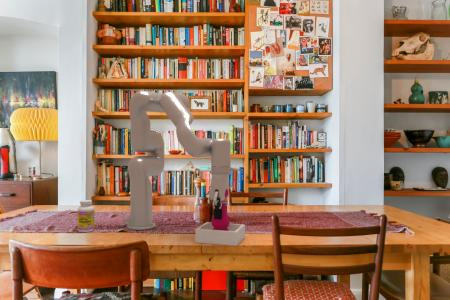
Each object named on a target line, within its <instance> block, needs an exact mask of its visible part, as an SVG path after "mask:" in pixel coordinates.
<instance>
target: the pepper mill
mask: <svg viewBox="0 0 450 300" xmlns="http://www.w3.org/2000/svg"><path fill="white" fill-rule="evenodd" d="M227 196H228V189H226V191H225V200H223V201H222V207H221V209H222V219H214V214H213V215H212V217H211V221H210V222H211V224H212V226H213V227H214V228H213V229H212V230H222V231H229V229H228V228H227V227H228V226H229V225H230V224H231V222H230V217H229V214H228V211H227V212H226V203H227V204H228V198H227ZM226 198H227V199H226ZM218 200H220V199H218ZM219 205H220V202H219Z"/></svg>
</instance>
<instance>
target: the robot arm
mask: <svg viewBox="0 0 450 300" xmlns="http://www.w3.org/2000/svg"><path fill="white" fill-rule="evenodd" d="M190 104H191V102H190V99H189V97H188V96H187V95H185V94H183V93H180V92H175V91H166V92H163V93H159V92H154V91H149V90H141V91H136V92H134V94H133V95H132V96H131V98H130V99H129V103H128V111H129V112H128V113H129V119H130V145H131V149H132V151H134V152H135V153H145V154H146V155H137V156H134V157H131V159H130V160H129V161H128V163H127V172H128V176H129V186H130V187H129V193H130V196H129V199H130V204H129V205H130V206H129V207H130V209H129V211H130V216H124V217H123V219H122V220H123V222H126V223H127V222H128V223H127V224H126V229H127V230H132V231H133V230H134V231H143V230H151V229H154V228H156V226H157V223H156V222H153V183H152V181H151V178H150V177H156V176H159V175H161V174H162V173H163V172H164V170H165V169H164V168H165V142H164V138H163V136H162V135H161V133H158V132H156V131H151V120H150V116H149V115H148V113H147V112H151V113H152V112H153V113H164V114H165V115H166V116H167V117H168V118H169V120H170V121H171V122H172V124H173V125H174V127H175V128H176V129H175V131H176V132H175V133H176V138H177V140H178V142H179V144H180V145H181V147H182V148H183V150H184V151H185V152H186V153H187V155H189V156H190V157H192V158H210V175H211V179H210V180H211V181H210V195H209V197H210V198H209V199H210V201H211V202H212V203H213V215H214V219H222V209H221V207H222V201H223V200H225V191H226V189H228V196H227V198H226V199H227V200H228V198H229V197H230V177H229V176H230V175H232V174H231V173H232V172H231V163H232V162H231V161H232V160H231V157H232V156H231V153H232V151H231V150H232V145H231V144H232V143H231V140H230V139H229V138H210V137H209V138H208V137H198V136H197V135H196V134H195V132H194V131H193V130H192V128H191V127H190V126H191V125H192V123H193V122H194V114H193V113H192V112H191V111H190V106H191V105H190ZM218 199H220V200H218ZM219 202H220V205H219ZM226 212H227V213H228V202H227V203H226Z"/></svg>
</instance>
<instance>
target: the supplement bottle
mask: <svg viewBox="0 0 450 300" xmlns="http://www.w3.org/2000/svg"><path fill="white" fill-rule="evenodd" d="M79 204H80V206H78V208H77V232H79V233H91V232H93V231H95V207H94V206H93V205H92V204H93V200H92V199H83V200H80V201H79Z"/></svg>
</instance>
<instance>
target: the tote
mask: <svg viewBox="0 0 450 300" xmlns="http://www.w3.org/2000/svg"><path fill="white" fill-rule="evenodd" d="M213 228H214V227H213V226H212V224H211V221H210V222H209V221H206V222H205V223H203V224H202V225H200V226H198V227H197V228H195V232H194V233H195V234H194V236H195V240H194V242H195V244H197V243H198V244H207V245H208V244H209V245H220V246H221V245H222V246H233V247H237V246H238V245H239V244H240V243H241V242H242V241H243V240H244V239H245V238H246V224H241V223H230V225H229V226H228V227H227V228H228V229H229V231H222V230H212V229H213Z"/></svg>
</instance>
